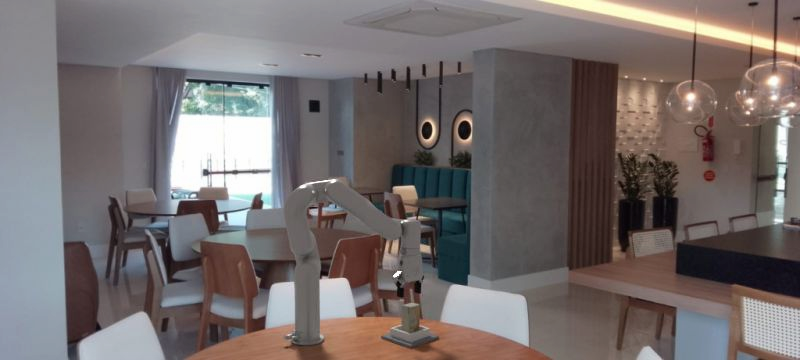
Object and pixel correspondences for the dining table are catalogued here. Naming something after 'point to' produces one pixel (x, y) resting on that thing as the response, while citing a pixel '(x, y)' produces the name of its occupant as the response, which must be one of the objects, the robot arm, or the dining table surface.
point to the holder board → (410, 336)
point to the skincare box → (410, 317)
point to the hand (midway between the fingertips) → (409, 295)
